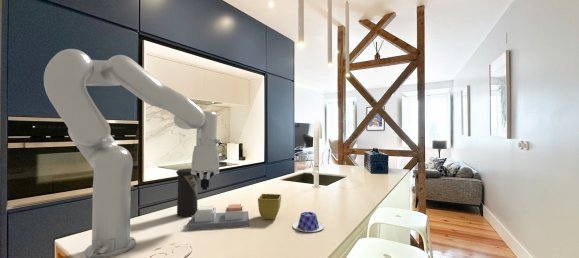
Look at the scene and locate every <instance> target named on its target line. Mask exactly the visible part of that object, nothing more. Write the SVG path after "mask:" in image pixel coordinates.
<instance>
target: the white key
mask: <svg viewBox="0 0 579 258" xmlns="http://www.w3.org/2000/svg"><path fill="white" fill-rule="evenodd" d="M213 208H214V205H200V206H199V208H198V209H199V210H198V213H213Z"/></svg>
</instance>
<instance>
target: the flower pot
mask: <svg viewBox="0 0 579 258" xmlns="http://www.w3.org/2000/svg"><path fill="white" fill-rule="evenodd" d="M281 202H282V194H278V193H261V194H260V195H259V197H257V204H258V205H257V206H258V212H259V215H260V218H261V219H262V220H276V217H277V216H278V213H279V211H280V208H281Z"/></svg>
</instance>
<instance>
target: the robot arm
mask: <svg viewBox="0 0 579 258" xmlns="http://www.w3.org/2000/svg"><path fill="white" fill-rule="evenodd" d="M89 86H90V87H113V86H122V87H123V88H125V89H126V90H128V91H129V92H130V93H132V94H133V95H134V96H135V97H137V98H138V99H140V100H141V101H143V102H144V103H146V104H147V105H150V106H152V107H156V108H159V109H162V110H165V111H167V112H169V113H170V114H172V115H174V116H173V122H174V124H175V126H176V127H178V128H179V129H182V130H195V129H196V138H195V140H196V142H195V143H196V144H195V145H194V147H193V151H192V155H191V156H192V157H191V168H192V170H191V174H193V175H197V178H199V180H200V188H201V191H207V190H208V188H210V179H211V178H212V177H213V176H216V175H220V149H219V146H218V144H221V140H220V139H217V134H218V133H217V130H218V129H217V127H218V114H217V113H216V112H215V111H212V110H211V111H209V110H203V109H201V108H200V107H199V106H198V105H196V103H194V102H193V101H192V100H190V99H189V98H188V97H186V96H185V95H183V94H182V93H179V92H178V91H176V90H174V89H172V88H171V87H170V86H169V87H168V86H167V85H165V84H164V83H163V82H161V81H160V80H159V79H157V78H156V77H154V75H152V74H151V73H150V72H148V71H147V70H146V69H145V68H144V67H142V66H141V65H140V64H139V63H137V62H136V61H135V60H133V58H131V57H129V56H127V55H125V54H117V55H114V56H111V57H110V58H109V59H105V60H100V59H99V60H98V59H97V60H96V59H91V57H90V56H89V55H88V54H86V53H85V52H84V51H82V50H80V49H76V48H67V49H64V50H60V51H59V52H57V53H56V54H55V55H54V56H53V57H52V58H51V59H50V60H49V61H48V63H47V65H46V67H45V70H44V73H43V87H44V90H45V93H46V96H47V97H48V99H49V102H50V103H51V105H52V107H54V109H55V111H56V113H57V114H58V116H59V117H60V118H61V120H62V121H63V122H64V124H65V126H66V127H67V128H68V129H67V133H68V135H69V138H70V139H71V141H72V142H73V144H74V145H75V146H76V148H77V149H78V150H79V152H80V153H81V155H82V156H83V157H84V159H86V161H87V163H88V164H89V165H90V166H91V168H92V169H93V179H92V180H93V182H92V198H91V199H92V211H91V212H92V216H91V218H92V219H91V220H92V221H91V225H92V226H91V244H90V245H89V246H87V247H86V248H85V250H84V255H85V257H87V258H108V257H113V256H117V255H120V254H122V253H125V252H128V251H130V250H131V249H132V248H134V247H135V246H136V245H137V244H136V243H137V242H136V241H137V240H136V238H135V237H132V236H131V193H132V191H131V190H132V189H131V185H132V175H133V166H134V162H133V156H132V154H131V153H130V151H129V150H128V149H127V148H125V147H123V146H121V145H118V143H117V142H116V140H115V139H114V137H113V136H112V135H111V131H112V130H111V126H110V124H109V122H108V121H107V120H106V118H105V117H104V116H103V114H102V113H101V111H100V110H99V108H98V107H97V105H96V104H95V102H94V100H93V99H92V97H91V96H90V94H89V92H88V90H87V87H89ZM205 172H207V173H206V177H205V174H204V173H205Z"/></svg>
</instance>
